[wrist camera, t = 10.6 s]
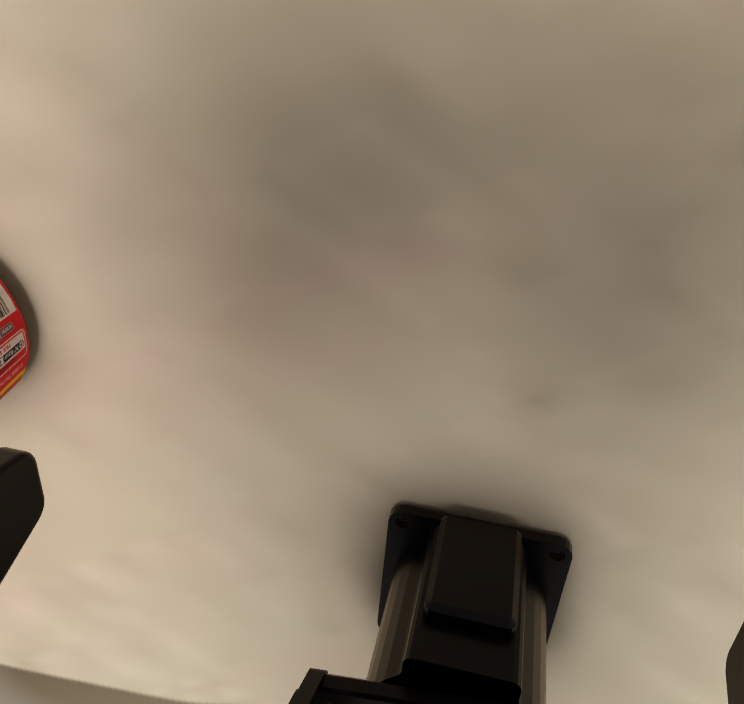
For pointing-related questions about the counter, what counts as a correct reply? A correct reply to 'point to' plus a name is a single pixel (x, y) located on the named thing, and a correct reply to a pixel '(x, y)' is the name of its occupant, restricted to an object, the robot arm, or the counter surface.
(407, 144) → the counter surface
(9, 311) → the soda can
